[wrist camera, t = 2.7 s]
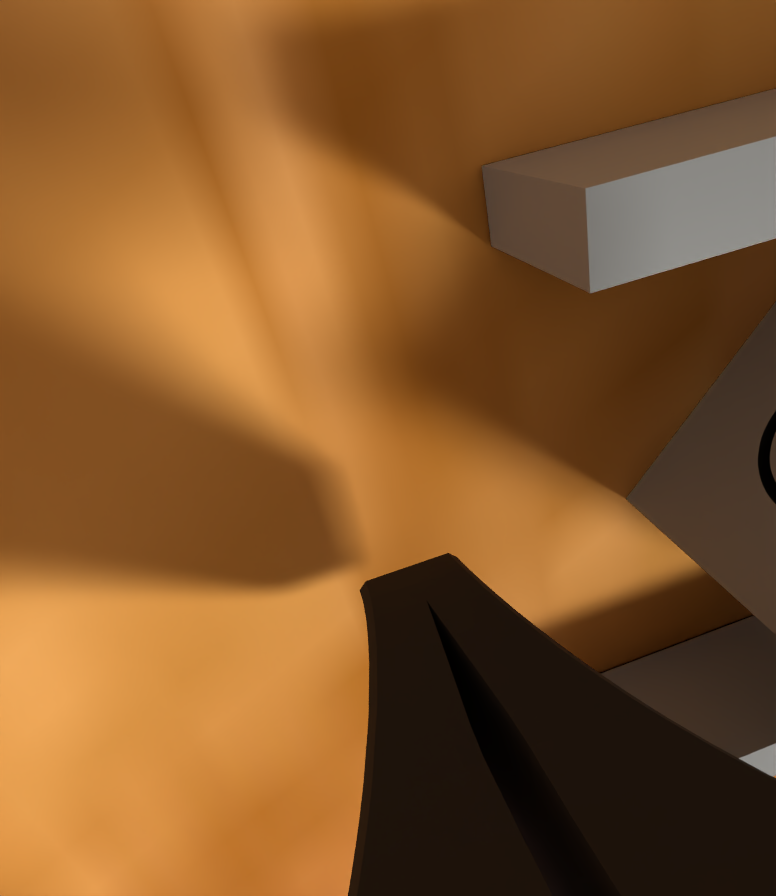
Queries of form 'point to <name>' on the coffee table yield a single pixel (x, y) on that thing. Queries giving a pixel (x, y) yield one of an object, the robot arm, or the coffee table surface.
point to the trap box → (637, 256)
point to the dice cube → (725, 478)
